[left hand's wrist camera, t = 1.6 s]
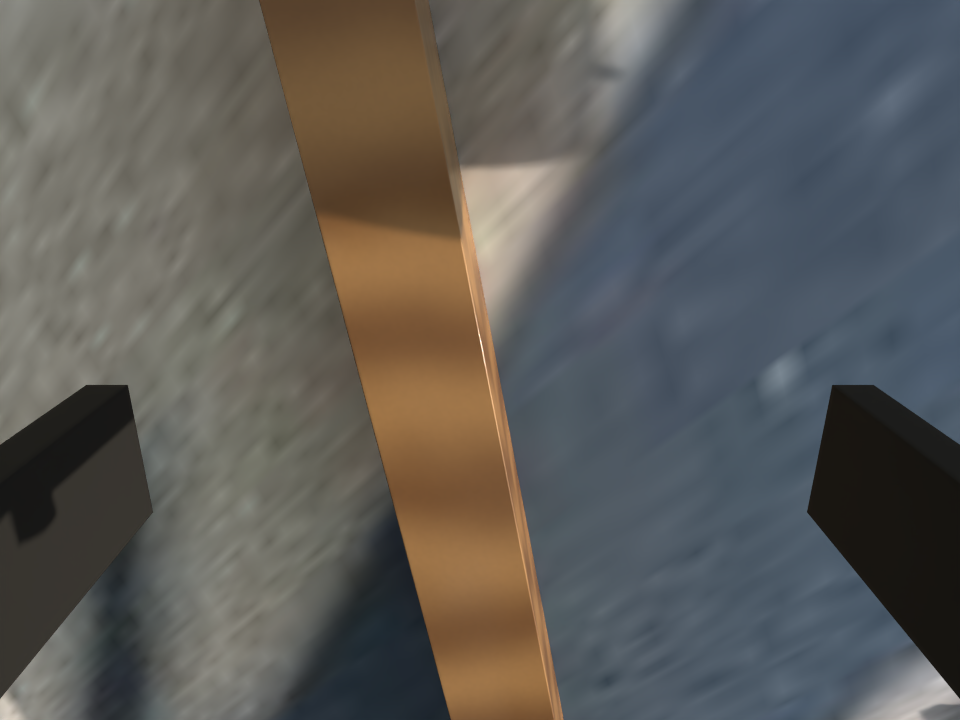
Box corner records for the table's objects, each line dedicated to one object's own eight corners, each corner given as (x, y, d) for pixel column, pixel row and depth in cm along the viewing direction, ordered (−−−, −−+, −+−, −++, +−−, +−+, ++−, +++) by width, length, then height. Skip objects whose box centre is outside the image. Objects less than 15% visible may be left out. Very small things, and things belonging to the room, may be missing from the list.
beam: (276, -154, 26) (187, -267, 18) (394, -181, 25) (355, -308, 18) (548, 976, 50) (560, 1132, 42) (610, 970, 50) (633, 1126, 42)
